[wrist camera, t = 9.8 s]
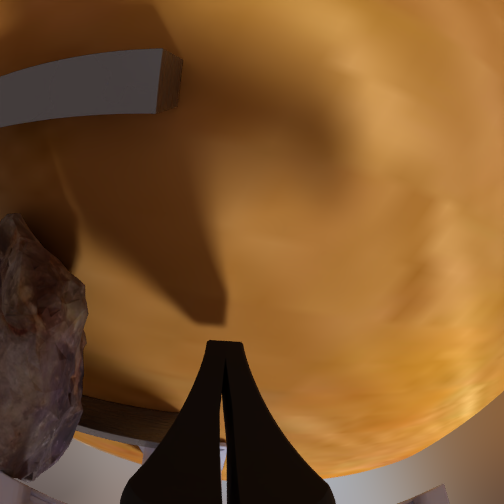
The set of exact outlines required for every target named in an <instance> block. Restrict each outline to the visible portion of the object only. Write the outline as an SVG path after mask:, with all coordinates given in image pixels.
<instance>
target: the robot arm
mask: <svg viewBox="0 0 504 504" xmlns="http://www.w3.org/2000/svg"><path fill="white" fill-rule="evenodd" d="M221 395H222V400H223V412H224V422H225V432H226V443H222V442H220V403H221ZM139 448H140V449H141V451H142V453H143V461H142V466H141V467H140V468H139V469H138V471H137V472H136V473H135V474H134V475H133V476H132V477H131V478H130V479H129V481H128V483H127V485H126V486H125V488H124V491H123V493H122V496H121V500H120V504H222V492H221V491H222V487H221V471H222V469H223V465H224V462H225V458H226V454H227V504H336V503H335V499H334V496H333V493H332V491H331V489H330V487H329V485H328V484H327V483H326V482H325V481H324V480H323V479H322V478H321V477H320V476H319V475H318V474H317V473H316V472H315V471H314V470H313V469H312V468H311V467H310V466H309V465H308V464H307V463H306V462H305V461H304V459H303V458H302V457H301V456H300V455H299V453H298V452H297V451H296V450H295V448H294V447H293V446H292V445H291V443H290V442H289V441H288V440H287V438H286V437H285V435H284V434H283V432H282V431H281V430H280V428H279V426H278V425H277V423H276V422H275V420H274V419H273V417H272V415H271V413H270V412H269V410H268V408H267V406H266V404H265V402H264V400H263V398H262V396H261V394H260V392H259V390H258V388H257V385H256V383H255V381H254V378H253V376H252V373H251V371H250V368H249V365H248V362H247V359H246V355H245V351H244V347H243V344H242V343H241V342H232V341H216V340H209V341H207V345H206V350H205V354H204V358H203V361H202V364H201V367H200V370H199V372H198V375H197V377H196V380H195V382H194V385H193V387H192V389H191V391H190V393H189V395H188V397H187V399H186V401H185V403H184V405H183V407H182V409H181V411H180V413H179V414H178V416H177V418H176V419H175V421H174V423H173V424H172V426H171V427H170V429H169V430H168V432H167V434H166V435H165V437H164V438H163V439H162V441H161V442H160V444H159V445H158V446H157V448H156V449H155V448H149V447H143V446H139ZM0 504H66V503H63V502H61V501H58V500H56V499H54V498H51V497H49V496H47V495H45V494H43V493H41V492H39V491H37V490H35V489H33V488H30V487H29V486H27V485H25V484H23V483H21V482H19V481H17V480H15V479H14V478H12V477H10V476H8V475H6V474H5V473H3V472H1V471H0ZM398 504H449V500H448V496H447V492H446V489H445V485H444V484H441V485H439V486H437V487H435V488H433V489H431V490H429V491H426V492H424V493H422V494H420V495H417V496H415V497H413V498H411V499H408V500H405V501H403V502H400V503H398Z"/></svg>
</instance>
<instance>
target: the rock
mask: <svg viewBox="0 0 504 504" xmlns="http://www.w3.org/2000/svg"><path fill="white" fill-rule="evenodd" d="M87 316H88V308H87V302H86V299H85V285H84V284H83V283H82V282H81V281H80V280H79V279H78V278H77V277H75V276H74V275H72V274H71V273H70V272H68V270H67V269H66V268H65V266H64V265H63V264H62V262H61V261H60V260H59V259H58V258H56V257H55V256H54V255H53V254H51V253H50V252H49V251H48V250H46V249H45V248H44V247H43V246H42V244H41V243H40V242H39V241H38V240H37V239H36V237H35V236H34V235H33V233H32V232H31V230H30V229H29V228H28V226H27V225H26V223H25V221H24V219H23V218H22V216H21V214H20V213H14V214H7V215H6V216H5V217H4V218H3V219H2V220H1V221H0V471H1V472H3V473H5V474H6V475H8V476H10V477H12V478H18V479H20V480H23V481H25V482H31V481H34V480H35V478H36V477H38V476H39V475H40V474H41V473H43V472H44V471H46V470H47V469H48V468H50V467H51V466H52V465H54V464H55V463H56V462H57V461H58V460H59V459H60V457H61V456H62V455H63V454H64V452H65V450H66V449H67V448H68V447H69V445H70V442H71V440H72V438H73V435H74V433H75V430H76V427H77V425H78V423H79V421H80V418H81V415H82V412H83V408H82V404H81V396H82V389H83V381H82V380H83V376H84V366H83V348H84V346H85V345H86V344H87V341H86V336H85V333H84V330H83V328H84V325H85V322H86V319H87Z"/></svg>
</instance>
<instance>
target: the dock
mask: <svg viewBox="0 0 504 504" xmlns="http://www.w3.org/2000/svg"><path fill="white" fill-rule="evenodd" d="M182 64H183V59H181V58H179V57H177V56H176V55H174V54H172V53H170V52H168V51H167V50H165V49H138V50H125V51H114V52H105V53H97V54H90V55H84V56H78V57H73V58H67V59H62V60H58V61H53V62H49V63H45V64H41V65H37V66H33V67H29V68H26V69H22V70H19V71H16V72H13V73H10V74H7V75H4V76H1V77H0V127H5V126H10V125H15V124H21V123H27V122H33V121H40V120H47V119H55V118H64V117H74V116H87V115H103V114H156V113H159V112H162V111H166V110H169V109H172V108H175V107H177V106H178V96H179V88H180V79H181V71H182ZM81 404H82V408H83V412H82V415H81V418H80V421H79V423H78V425H77V427H76V431H79V432H83V433H86V434H90V435H93V436H97V437H101V438H105V439H109V440H113V441H118V442H122V443H127V444H132V445H137V446H143V447H149V448H155V449H156V448H157V446H158V445H159V444H160V442H161V441H162V439H163V438H164V437H165V435H166V434H167V432H168V430H169V429H170V427H171V426H172V424H173V423H174V421H175V419H176V418H177V416H178V414H179V413H172V412H164V411H157V410H150V409H144V408H138V407H132V406H127V405H121V404H117V403H112V402H107V401H103V400H98V399H94V398H90V397H86V396H81Z"/></svg>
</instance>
